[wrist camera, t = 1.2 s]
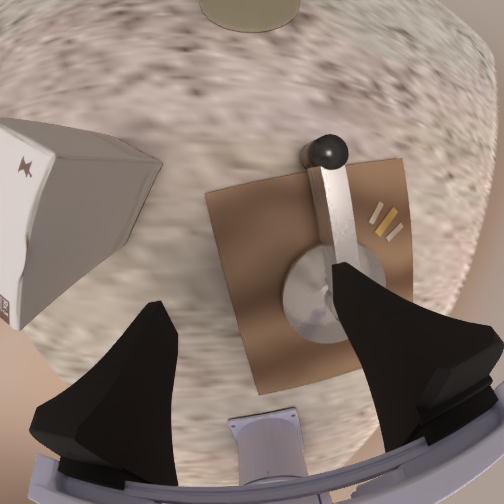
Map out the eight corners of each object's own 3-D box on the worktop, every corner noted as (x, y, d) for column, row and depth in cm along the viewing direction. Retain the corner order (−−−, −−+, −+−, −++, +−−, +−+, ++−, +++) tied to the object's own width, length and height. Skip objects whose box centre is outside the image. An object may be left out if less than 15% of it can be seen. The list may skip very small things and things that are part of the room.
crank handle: (380, 320, 24) (404, 345, 19) (290, 347, 24) (300, 379, 19) (360, 137, 20) (389, 128, 15) (250, 154, 20) (254, 146, 15)
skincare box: (111, 135, 20) (-19, 101, 5) (168, 164, 21) (57, 142, 6) (75, 221, 21) (-52, 269, 7) (126, 253, 22) (14, 340, 8)
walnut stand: (405, 345, 26) (410, 350, 25) (258, 389, 26) (259, 396, 25) (396, 158, 21) (403, 158, 20) (205, 193, 21) (204, 193, 20)
